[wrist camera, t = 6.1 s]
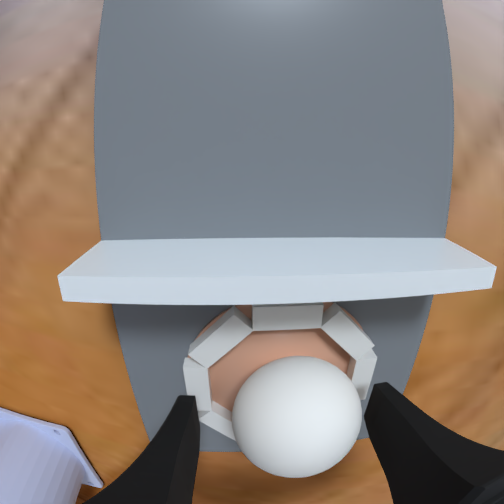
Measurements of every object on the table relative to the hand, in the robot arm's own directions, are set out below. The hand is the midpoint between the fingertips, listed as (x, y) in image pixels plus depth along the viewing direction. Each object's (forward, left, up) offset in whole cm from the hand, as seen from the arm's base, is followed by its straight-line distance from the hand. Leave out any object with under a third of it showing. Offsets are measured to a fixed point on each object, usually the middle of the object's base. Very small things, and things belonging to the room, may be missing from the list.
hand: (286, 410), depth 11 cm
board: (0, +6, -3) cm, 7 cm away
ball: (0, 0, 0) cm, 1 cm away
